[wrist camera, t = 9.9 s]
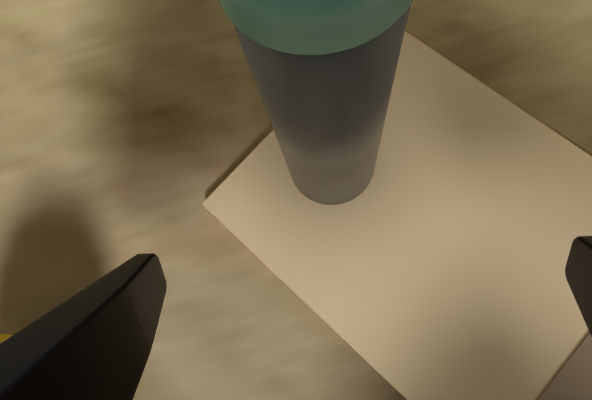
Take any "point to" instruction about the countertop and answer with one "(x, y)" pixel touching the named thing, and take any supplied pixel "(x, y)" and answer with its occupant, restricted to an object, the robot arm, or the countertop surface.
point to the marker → (324, 83)
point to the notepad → (438, 242)
